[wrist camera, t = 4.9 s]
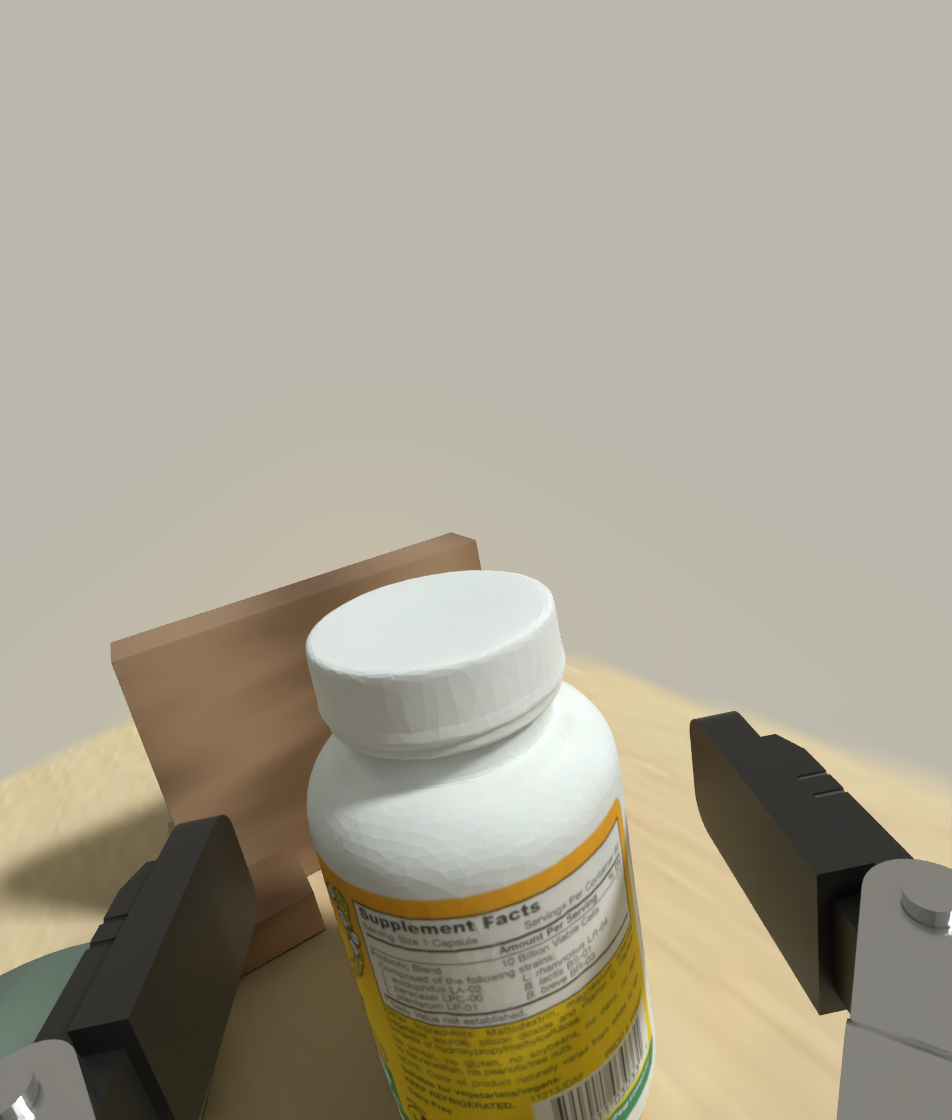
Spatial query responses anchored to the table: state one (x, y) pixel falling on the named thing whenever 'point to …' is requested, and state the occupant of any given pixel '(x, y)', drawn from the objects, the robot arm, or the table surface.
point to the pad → (35, 997)
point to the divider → (255, 722)
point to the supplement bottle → (479, 854)
